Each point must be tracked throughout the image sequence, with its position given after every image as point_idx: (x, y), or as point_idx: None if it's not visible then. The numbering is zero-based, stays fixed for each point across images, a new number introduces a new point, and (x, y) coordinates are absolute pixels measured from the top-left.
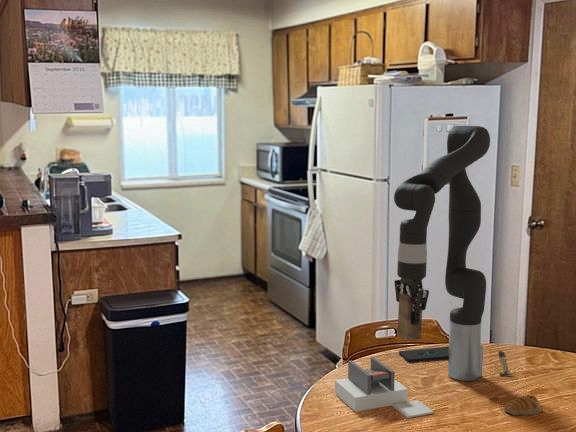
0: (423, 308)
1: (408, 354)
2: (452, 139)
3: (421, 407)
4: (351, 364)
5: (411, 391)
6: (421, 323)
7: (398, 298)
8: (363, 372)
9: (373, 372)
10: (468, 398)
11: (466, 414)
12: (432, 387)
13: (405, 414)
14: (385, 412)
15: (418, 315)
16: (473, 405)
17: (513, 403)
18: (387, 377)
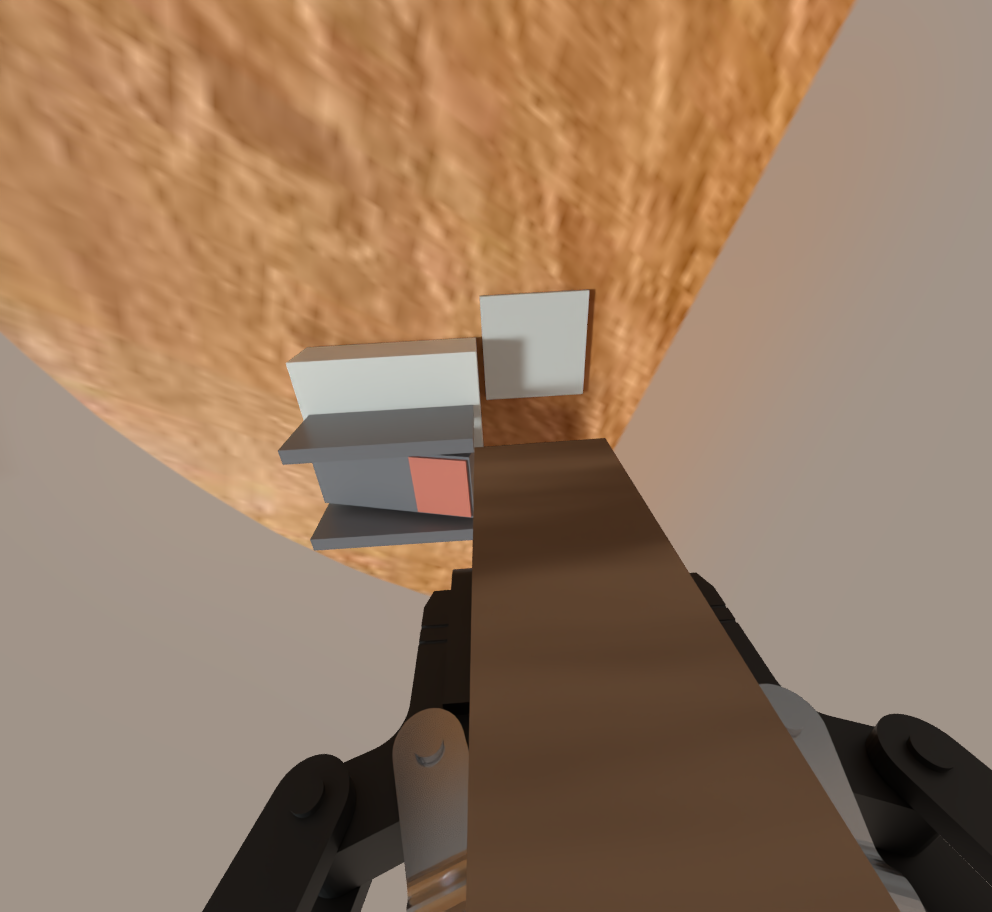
0: (952, 774)
1: None
2: None
3: (542, 316)
4: (345, 545)
5: (380, 269)
6: (653, 516)
7: (366, 894)
8: (447, 541)
9: (393, 473)
10: (518, 17)
11: (651, 155)
12: (353, 142)
13: (568, 392)
14: (519, 433)
15: (749, 658)
16: (594, 50)
17: None
18: (473, 456)
